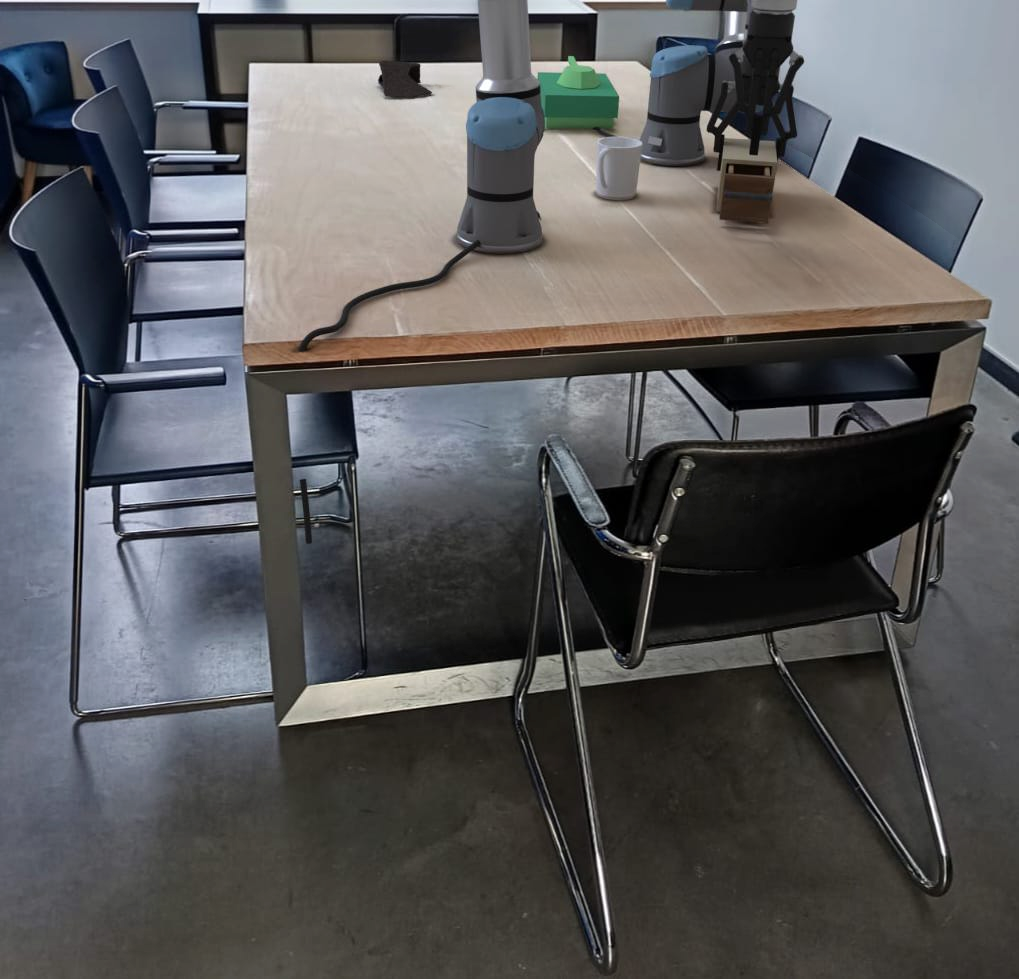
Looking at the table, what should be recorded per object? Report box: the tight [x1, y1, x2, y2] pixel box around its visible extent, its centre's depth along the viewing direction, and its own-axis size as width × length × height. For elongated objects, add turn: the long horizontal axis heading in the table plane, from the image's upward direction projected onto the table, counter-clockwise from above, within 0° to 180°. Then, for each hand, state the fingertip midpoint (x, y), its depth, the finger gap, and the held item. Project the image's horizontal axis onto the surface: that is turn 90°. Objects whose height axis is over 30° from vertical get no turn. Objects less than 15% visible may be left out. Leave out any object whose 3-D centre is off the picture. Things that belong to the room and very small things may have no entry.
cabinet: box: [716, 137, 778, 216], centre depth 216 cm, size 17×10×10 cm, turn 170°
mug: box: [595, 136, 642, 201], centre depth 218 cm, size 11×9×10 cm
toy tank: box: [536, 55, 620, 130], centre depth 276 cm, size 18×12×35 cm
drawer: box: [719, 163, 776, 224], centre depth 206 cm, size 21×9×8 cm, turn 170°
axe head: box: [377, 59, 433, 99], centre depth 299 cm, size 18×8×15 cm
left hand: (753, 153), depth 196 cm, fingers closed
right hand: (746, 170), depth 220 cm, fingers closed on cabinet, 10 cm apart
